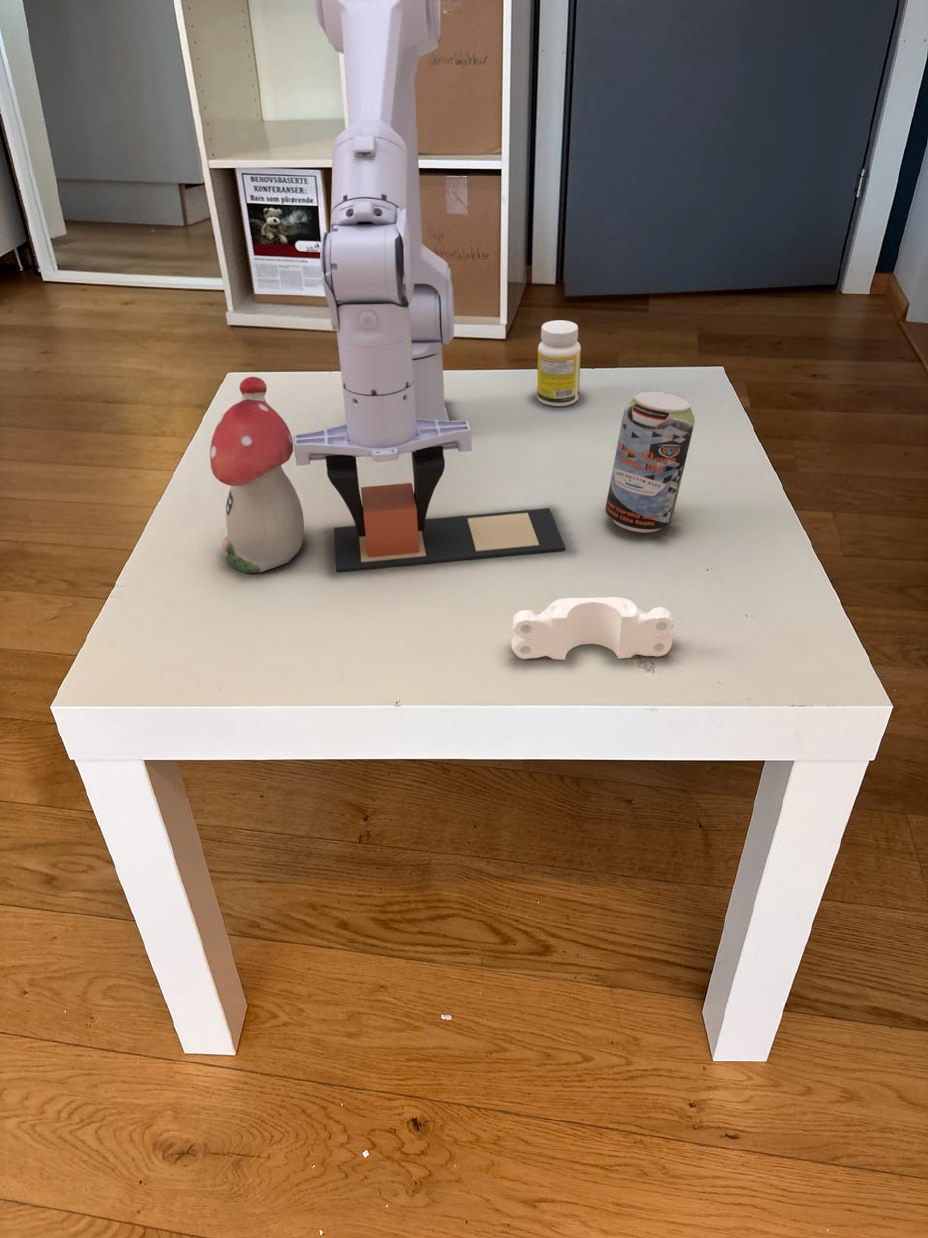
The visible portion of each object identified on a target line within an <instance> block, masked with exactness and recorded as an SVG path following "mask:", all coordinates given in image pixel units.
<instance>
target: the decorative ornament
mask: <svg viewBox="0 0 928 1238" xmlns="http://www.w3.org/2000/svg"><path fill="white" fill-rule="evenodd" d="M267 389H268V388H267V384H266V382H265V380H263V379H262V378H261V377H258V376H249V377H246V378H245V379H243V380H242V381H241V382H240V383H239V391H240V393H241V396H242V398H241V400H240V401H239V402H237V403H234V404H233V405H231V406H230V407H229V408H228V409H227V410H226V411H225V412H224V414H222V416H221V417H220V418H219V420H218V422H217V423H216V427H215V429H214V432H213V435H212V436H211V437H212V438H211V442H210V449H209V450H210V451H209V460H210V462H209V463H210V468H211V471H212V475H213V476H214V477H215V479H217V480H218V481H219V482H220V483H222V484H224V485H226V486H230V489H229V492H228V495H227V497H226V503H225V524H226V525H225V526H226V532H227V535H226V536H225V538H224V539H223V541H222V552H223V556H224V557H225V559H226V561H227V562H228V563H229V564H230V565H231V567H232V568H234V569H236V570H238V571H241V572H243V573H246V574H257V573H259V574H260V573H263V572H265V571H268V570H271V569H275V568H277V567H280V566H282V565H285V564H288V563H289V562H290V561H291V560H292V559H293V558H294V557H295V556H296V555H297V554H298V552H299V551H300V549H301V547H302V545H303V540H304V534H305V519H304V512H303V507H302V504H301V500H300V498H299V495H298V493H297V490H296V489H295V487H294V484H293V483H292V481H291V480H290V478H289V477H288V476H287V474H286V472H284V470H283V468H282V466H283V465H284V464H286V463H287V462H289V460H290V458H291V457H292V455H293V452H294V439H293V436H292V433H291V430H290V428H289V426H288V425H287V423H286V422H285V420H284V418H282V417H281V415H280V414H279V413H278V412H277V411H276V410H275V409H274V408H273V407H272V406H271V405H270V404H269V403H268V402H267V401H266V398H265V396H266V393H267Z"/></svg>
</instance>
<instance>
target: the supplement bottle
mask: <svg viewBox="0 0 928 1238" xmlns="http://www.w3.org/2000/svg"><path fill="white" fill-rule="evenodd" d="M540 331H541V332H540V339H541V341H540V343H539V344H538V346H537V399H538V401H539V402H540V403H541V404H543V405H547V406H551V407H567V406H570V405H572V404H575V403H576V402H577V401H578V400H579V397H580V383H581V382H580V378H581V355H582V354H581V352H582V347H581V344H580V342H579V341H578V340H579V326H578V324H576V323H575V322H572V321H570V320H562V319H556V320H550V321H546V322H544V323H543V324H542V325H541V330H540Z"/></svg>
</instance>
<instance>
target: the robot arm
mask: <svg viewBox="0 0 928 1238" xmlns="http://www.w3.org/2000/svg"><path fill="white" fill-rule="evenodd" d="M313 1H314V8H315V13H316V19H317V21H318V25H319V26H320V27H321V29H322V30H323V32H324V34H325V37H326V38H327V41H328V43H329V44H330V45H332V47H333V49H334V50H335V52H337V53H339V54H342V55H343V61H344V63H343V64H344V76H345V77H344V78H345V90H346V94H345V95H346V107H347V109H346V110H347V123H348V127H347V128H345V129H344V130H342V131H341V133H339V134H338V135H337V136H336V138H335V140H334V142H333V144H332V157H331V159H332V160H331V199H330V201H331V203H330V232H327V231H324V232H323V233H322V234H321V241H320V248H319V249H320V250H319V251H320V253H319V255H320V256H319V258H320V259H319V261H320V262H319V263H320V274H321V282H322V287H323V291H324V294H325V295H324V296H325V299H326V303H327V305H328V310H329V317H330V318H329V319H330V324H331V325H330V326H331V328H332V331H335V332H336V340H337V348H338V349H337V350H338V359H339V369H340V377H341V386H342V394H343V405H344V412H345V414H344V415H345V423H344V424H340V425H337V426H332V427H328V428H324V429H320V430H315V431H311V432H305V433H295V434H293V451H294V457H295V463H296V466H308V465H310V463H311V462H313V461H325V463H326V475H327V478H328V480H329V481H330V483H331V485H332V486H333V487H334V489H335V490H336V491H337V493H338V494H339V495H340V498H342V499H343V502H344V504H345V505H346V507H347V509H348V511H349V513H350V515H351V518H352V520H353V523H354V526H356V529H357V533H358V536H359V537H363V536H366V534H365V524H364V515H363V504H362V495H361V490H360V483H359V476H358V475H359V474H358V465H357V458H360V457H361V458H362V457H366V458H372V461H374V462H377V463H379V462H392V461H396V460H399V457H400V455H404V454H409V453H410V454H411V462H412V463H411V464H412V475H413V492H414V497H415V502H416V508H417V522H418V531H424V530H425V519H427V514H428V509H429V506H430V503H431V499H432V497H433V494H434V491H435V489H436V487H437V485H438V484H439V481H440V479H441V478H442V476H443V474H444V471H445V469H446V468H445V467H446V460H445V455H444V450H456V449H457V451H458V452H462V453H463V452H472V429H471V426H470V424H469V420H467V419H466V420H464V419H463V420H450V418H449V415H448V411H447V407H446V404H445V384H444V361H443V360H444V359H443V347H444V345H449V344H450V342H451V341H453V339H454V337H455V297H454V296H455V295H454V285H453V283H452V269H451V268H450V267H449V264H448V262H447V261H446V260H444V259H443V258H442V257H441V256H439V255H438V254H436V253H435V252H433V251H432V250H431V249H429V248H428V247H427V246H425V244H423V227H422V208H421V207H422V205H421V185H420V168H419V167H420V166H419V147H418V128H417V106H416V87H415V79H416V74H417V71H418V66H419V63H420V62H419V61H420V58H421V57H424V56H425V55H428V54H429V53H431V52H433V51H436V50H437V49H438V48H439V40H440V39H441V35H442V34H441V32H442V31H441V30H442V29H441V28H442V27H441V26H442V25H441V0H313Z"/></svg>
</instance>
